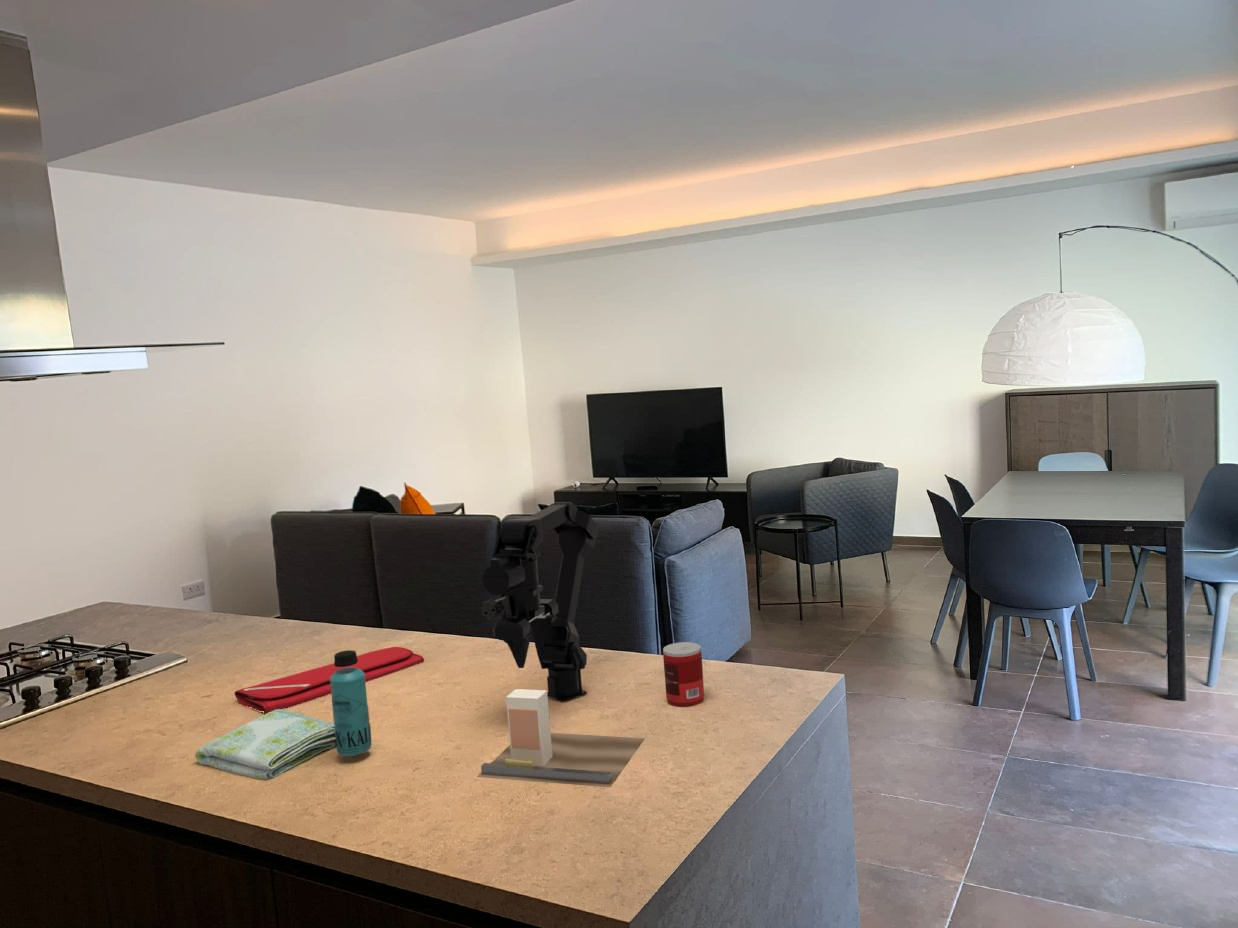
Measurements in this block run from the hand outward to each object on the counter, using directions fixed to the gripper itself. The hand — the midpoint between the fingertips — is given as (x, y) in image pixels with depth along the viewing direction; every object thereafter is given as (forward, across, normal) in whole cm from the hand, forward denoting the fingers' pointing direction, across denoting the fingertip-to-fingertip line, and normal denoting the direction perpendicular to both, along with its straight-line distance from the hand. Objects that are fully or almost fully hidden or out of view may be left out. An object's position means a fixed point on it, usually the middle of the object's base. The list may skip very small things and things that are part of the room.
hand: (530, 660), depth 178 cm
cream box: (+11, +20, +8) cm, 25 cm away
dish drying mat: (+13, -16, -59) cm, 62 cm away
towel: (+13, +23, -45) cm, 52 cm away
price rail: (+11, +27, +13) cm, 32 cm away
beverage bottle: (+12, +22, -27) cm, 37 cm away
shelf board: (+12, +18, +13) cm, 26 cm away
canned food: (+12, -14, +27) cm, 33 cm away
